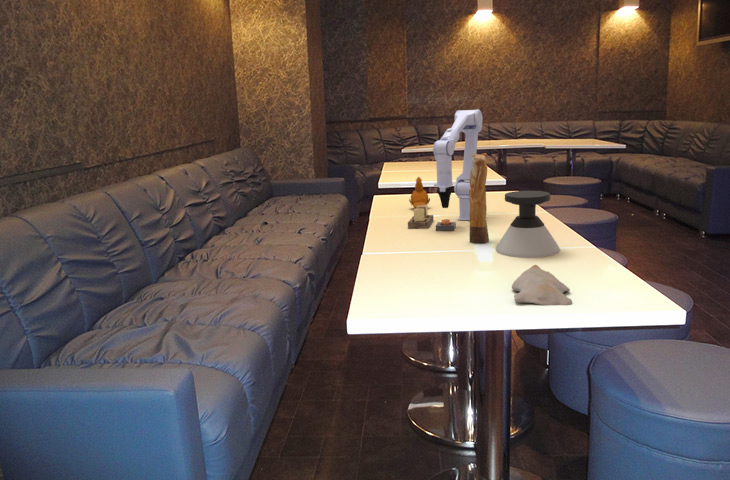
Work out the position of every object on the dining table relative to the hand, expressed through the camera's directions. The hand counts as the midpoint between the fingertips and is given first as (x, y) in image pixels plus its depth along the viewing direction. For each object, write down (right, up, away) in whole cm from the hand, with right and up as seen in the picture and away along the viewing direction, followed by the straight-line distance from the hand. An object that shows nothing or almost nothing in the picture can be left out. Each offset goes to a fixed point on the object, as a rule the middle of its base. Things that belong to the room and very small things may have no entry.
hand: (445, 207), depth 235 cm
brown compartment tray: (-8, -6, +13) cm, 16 cm away
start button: (0, -7, +2) cm, 7 cm away
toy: (-5, +2, +48) cm, 48 cm away
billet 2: (-9, -6, +9) cm, 14 cm away
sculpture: (+9, -13, -20) cm, 26 cm away
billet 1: (-7, -4, +16) cm, 18 cm away
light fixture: (+22, -16, -37) cm, 45 cm away
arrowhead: (+15, -25, -75) cm, 80 cm away
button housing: (+1, -8, +2) cm, 8 cm away
